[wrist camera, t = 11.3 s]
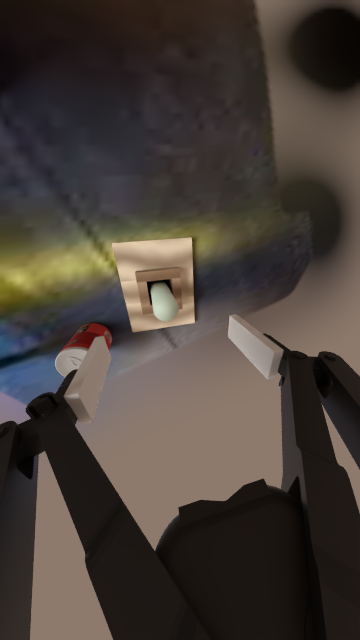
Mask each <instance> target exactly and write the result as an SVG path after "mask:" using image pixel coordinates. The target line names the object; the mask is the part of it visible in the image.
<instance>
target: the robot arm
mask: <svg viewBox="0 0 360 640" xmlns="http://www.w3.org/2000/svg"><path fill="white" fill-rule="evenodd" d="M228 337H229V338H230V339H231V340H232V341H233V343H235V345H236V346H237V347H238V348H239V349H240V350H241V351H242V352H243V353H244V354H245V356H246V357H247V358H248V359H249V360H250V361H251V362H252V363H253V364H254V366H255V367H256V368H257V369H258V370H259V371H260V372H261V373H262V374H263V375H264V376H265V378H266V379H267V380H269V379H273V378H276V377H277V373H280V375H282V376H281V379H280V382H279V386H280V385H281V412H282V451H283V478H282V485H281V489H279V488H276V487H273V486H269V485H267V484H266V482H265V481H264V479H261V480H258V481H255V482H252V483H249V484H246V485H244V486H243V487H241V489H239V490H238V491H237V492H236V493H235V494H233V495H232V496H231V497H230V498H229V499H228V500H226V501H209V500H199V501H196V502H193V503H190V504H187V505H184V506H181V507H179V515H178V516H177V517H175V518H174V519H173V520H172V522H171V523H170V524H169V525H168V527H167V528H166V529H165V531H164V533H163V535H162V536H161V538H160V540H159V543H158V545H157V547H156V550H155V551H154V549H153V548H152V546H151V545H150V543H149V542H148V540H147V538H146V537H145V535H144V534H143V532H142V531H141V529H140V527H139V526H138V524H137V523H136V521H135V520H134V518H133V516H132V515H131V513H130V512H129V510H128V509H127V507H126V505H125V504H124V503H123V501H122V499H121V498H120V496H119V494H118V493H117V491H116V490H115V488H114V487H113V485H112V483H111V482H110V481H109V479H108V477H107V476H106V474H105V472H104V471H103V469H102V468H101V466H100V465H99V463H98V462H97V460H96V458H95V457H94V455H93V454H92V452H91V451H90V449H89V447H88V446H87V444H86V442H85V441H84V439H83V438H82V436H81V435H80V433H79V432H78V430H77V429H76V427H75V424H76V421H77V419H78V421H79V423H80V424H84V423H89V422H92V421H93V419H94V416H95V412H96V409H97V405H98V402H99V399H100V395H101V392H102V389H103V385H104V382H105V378H106V375H107V372H108V368H109V365H110V362H111V355H110V352H109V350H108V347H107V344H106V341H105V338H104V336H100V337H95V339H94V341H93V343H92V345H91V346H90V348H89V350H88V352H87V354H86V356H85V358H84V359H83V361H82V363H81V365H80V367H79V369H75V370H72V371H71V372H70V373H69V374H68V375H67V376H66V377H65V379H64V381H63V382H62V384H61V387H59V389H58V391H57V392H56V394H54V393H52V392H48V393H44V394H42V395H40V396H38V397H36V398H35V399H33V400H32V401H31V402H30V403H29V404H28V406H27V408H26V413H27V414H28V415H29V416H30V418H31V419H29V420H27V421H25V422H23V423H21V424H18V425H17V423H16V422H14V421H8V422H5V423H3V424H1V425H0V640H30V622H31V603H32V601H31V600H32V581H33V561H34V539H35V519H36V499H37V477H38V457H39V456H38V455H39V454H40V453H42V452H44V451H45V452H46V454H47V457H48V459H49V462H50V464H51V467H52V469H53V472H54V474H55V477H56V479H57V482H58V485H59V487H60V490H61V492H62V495H63V497H64V500H65V502H66V505H67V507H68V510H69V512H70V515H71V518H72V520H73V523H74V525H75V528H76V530H77V533H78V535H79V538H80V540H81V543H82V545H83V548H84V551H85V563H86V568H87V571H88V574H89V577H90V579H91V582H92V584H93V587H94V590H95V592H96V595H97V598H98V600H99V603H100V606H101V608H102V611H103V613H104V616H105V619H106V621H107V624H108V627H109V629H110V632H111V635H112V637H113V640H360V513H359V510H358V506H357V503H356V500H355V496H354V493H353V490H352V486H351V483H350V479H349V477H348V474H347V472H346V470H345V469H344V468H343V467H342V466H340V465H339V464H338V463H337V460H336V457H335V453H334V449H333V446H332V442H331V438H330V434H329V430H328V427H327V423H326V419H325V416H324V412H323V408H322V405H323V406H324V408H325V410H326V412H327V414H328V415H329V417H330V419H331V421H332V422H333V424H334V426H335V428H336V429H337V431H338V433H339V434H340V436H341V438H342V439H343V441H344V443H345V445H346V447H347V448H348V450H349V452H350V453H351V455H352V457H353V459H354V460H355V462H356V464H357V466H358V467H359V469H360V376H359V375H358V374H357V373H355V371H354V370H353V369H352V368H351V367H350V366H349V365H348V364H347V363H346V362H345V361H344V360H343V359H342V358H341V357H340V356H338V355H336V354H334V353H331V352H326V351H325V352H324V351H322V352H319V355H318V357H308V356H307V355H306V354H304V353H302V352H298V351H290V350H289V349H288V348H286V347H285V346H284V345H282V344H281V343H280V342H278V341H277V340H275V339H274V338H273V337H271V336H269V335H267V334H262V333H260V332H259V331H257V330H256V329H255V328H254V327H252V326H251V325H249V324H248V323H247V322H246V321H244V320H243V319H242V318H240V317H239V316H238V315H236V314H235V315H230V317H229V332H228ZM321 403H322V404H321Z"/></svg>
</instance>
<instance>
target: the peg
mask: <svg viewBox="0 0 360 640" xmlns="http://www.w3.org/2000/svg"><path fill="white" fill-rule="evenodd" d="M150 290H151V297H152V305H153V312H154V315H155V316H156V317H157V318H158V319H159V320H162V321H169V320H172V319H173V318H175V317H176V315H177V314H178V311H179V306H178V303H177V302H176V300H175V298H174V296H173V295H172V293H171V291H170V290H169V288H168V286H167V284H166V283H165V282H164V281H162V280H156V281H154V282H152V284H151V286H150Z"/></svg>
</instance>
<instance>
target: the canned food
mask: <svg viewBox="0 0 360 640" xmlns="http://www.w3.org/2000/svg"><path fill="white" fill-rule="evenodd" d="M100 336H104V338H105V341H106V344H107V347H108V350H109V349H110V346H111V343H112V335H111V332H110V331H109V329H108V328H106V327H105V326H103V325H101V324H98V323H89V324H86V325H84V326H82V327H81V328H79V330H78V331H77V332H76V333H75V335H74V336H73V337H72V338H71V339H70V341H69V342H68V343H67V344H66V346H65V347H64V348H63V349H62V351H61V352H60V353H59V354H58V356H57V358H56V360H55V366H56V369H57V370H58V372H59V373H60V374H61V375H63V376H64V377H66V376H67V375H68V374H69V373H70V372H71V371H72V370H75V369H79V367H80V365H81V363H82V361H83V359H84V358H85V356H86V354H87V352H88V350H89V348H90V346H91V345H92V343H93V341H94V339H95V337H100Z"/></svg>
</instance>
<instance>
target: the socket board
mask: <svg viewBox="0 0 360 640" xmlns="http://www.w3.org/2000/svg"><path fill="white" fill-rule="evenodd" d="M112 247H113V251H114V255H115V260H116V264H117V268H118V272H119V276H120V281H121V285H122V289H123V293H124V297H125V302H126V306H127V310H128V314H129V318H130V323H131V327H132V331H133V332H139V331H146V330H152V329H158V328H165V327H171V326H177V325H184V324H190V323H195V319H194V289H193V260H192V237H191V238H178V239H164V240H151V241H137V242H124V243H112ZM165 279H169V281H170V291H171V293H172V295H173V296H174V298H175V300H176V302H177V303H178V306H179V311H178V314H177V315H176V317H175V318H173V319H172V320H169V321H162V320H159V319H158V318H157V317H156V316H155V315H154V312H153V305H152V300H150V298H149V292H148V286H147V281H156V280H165Z"/></svg>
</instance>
